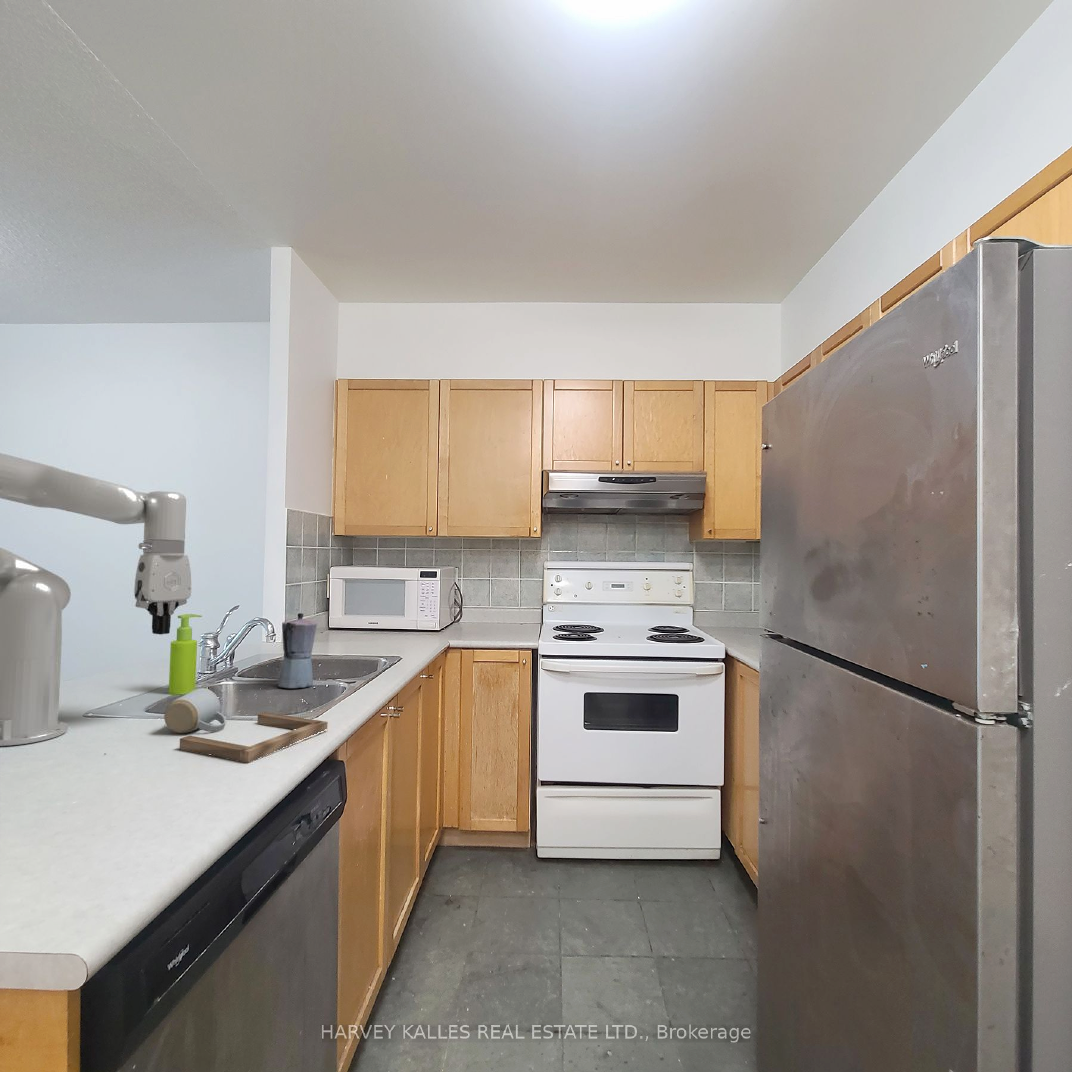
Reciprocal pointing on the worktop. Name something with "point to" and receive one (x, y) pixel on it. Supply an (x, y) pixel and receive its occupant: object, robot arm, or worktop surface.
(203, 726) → the ceramic mug
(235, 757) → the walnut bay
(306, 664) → the moka pot
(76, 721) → the worktop surface
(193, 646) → the soap dispenser
